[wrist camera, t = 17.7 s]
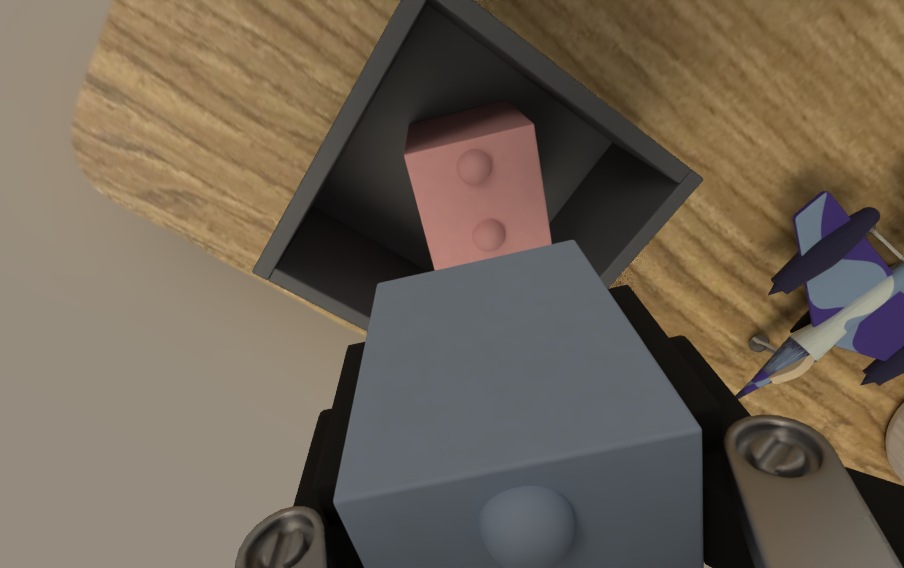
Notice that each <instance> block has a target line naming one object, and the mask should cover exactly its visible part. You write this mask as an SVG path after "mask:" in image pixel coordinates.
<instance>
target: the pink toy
mask: <svg viewBox="0 0 904 568" xmlns="http://www.w3.org/2000/svg"><path fill="white" fill-rule="evenodd" d="M404 158H405V162H406V166H407V169H408V173H409V177H410V180H411V184H412V188H413V192H414V195H415V199H416V203H417V206H418V210H419V214H420V218H421V221H422V225H423V229H424V232H425V236H426V240H427V244H428V247H429V251H430V255H431V259H432V262H433V266H434V270H440V269H444V268H449V267H453V266H458V265H462V264H467V263H471V262H475V261H480V260H484V259H489V258H493V257H498V256H502V255H507V254H511V253H516V252H520V251H524V250H529V249H533V248H538V247H542V246H547V245H551V244H552V241H551V234H550V227H549V221H548V214H547V207H546V201H545V194H544V187H543V180H542V174H541V167H540V160H539V154H538V147H537V140H536V134H535V127H534V124H533V123H532V122H531V121H530V120H529V119H528V118H527V117H526V116H524V115H523V114H522V113H521V112H520V111H519V110H518V109H517V108H516V107H515V106H513V105H512V104H511V103H510V102H509V101H508V100H506V101H502V102H498V103H494V104H490V105H486V106H482V107H478V108H474V109H469V110H465V111H461V112H457V113H453V114H449V115H445V116H441V117H437V118H433V119H429V120H424V121H420V122H416V123H412V124H409V125H408V132H407V139H406V146H405V153H404Z"/></svg>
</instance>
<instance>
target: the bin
mask: <svg viewBox="0 0 904 568" xmlns="http://www.w3.org/2000/svg"><path fill="white" fill-rule="evenodd" d="M506 100H508V101H509V102H510V103H511V104H512V105H513V106H515V107H516V108H517V109H518V110H519V111H520V112H521V113H522V114H523V115H524V116H526V117H527V118H528V119H529V120H530V121H531V122H532V123H533V124H534V127H535V134H536V140H537V147H538V154H539V160H540V167H541V174H542V180H543V187H544V194H545V201H546V207H547V214H548V221H549V227H550V234H551V241H552V244H556V243H560V242H565V241H569V240H575V242H576V243H577V245H578V246H579V248H580V249H581V251H582V252H583V254H584V255H585V257H586V258H587V260H588V261H589V263H590V264H591V266H592V267H593V269H594V270H595V272H596V273H597V275H598V276H599V277H600V279H601V280H602V282H603V283H604V285H605V286H606V288H607V289H608V288H609V287H610V286H611V285H612V284H613V282H614V281H615V280H616V279H617V278H618V277H619V276H620V274H621V273H622V272H623V271H624V270H625V269H626V268H627V267H628V265H629V264H630V263H631V262H632V261H633V260H634V259H635V257H636V256H637V255H638V254H639V253H640V252H641V251H642V249H643V248H644V247H645V246H646V245H647V244H648V243H649V241H650V240H651V239H652V238H653V237H654V236H655V235H656V233H657V232H658V231H659V230H660V229H661V228H662V227H663V225H664V224H665V223H666V222H667V221H668V220H669V219H670V218H671V216H672V215H673V214H674V213H675V212H676V211H677V210H678V208H679V207H680V206H681V205H682V204H683V203H684V202H685V200H686V199H687V198H688V197H689V196H690V195H691V194H692V192H693V191H694V190H695V189H696V188H697V187H698V186H699V184H700V183H701V182H702V181H703V178H702V177H701V176H699V175H698V174H697V173H696V172H694V171H693V170H691V169H690V168H689V167H688V166H687V165H685V164H684V163H683V162H681V161H680V160H679V159H678V158H676V157H675V156H674V155H672V154H671V153H670V152H668V151H667V150H666V149H665V148H663V147H662V146H661V145H659V144H658V143H657V142H656V141H654V140H653V139H652V138H650V137H649V136H648V135H647V134H645V133H644V132H643V131H641V130H640V129H639V128H638V127H636V126H635V125H634V124H632V123H631V122H630V121H628V120H627V119H626V118H625V117H623V116H622V115H621V114H619V113H618V112H617V111H616V110H614V109H613V108H612V107H610V106H609V105H608V104H607V103H605V102H604V101H603V100H601V99H600V98H599V97H597V96H596V95H595V94H594V93H592V92H591V91H590V90H588V89H587V88H586V87H585V86H583V85H582V84H581V83H579V82H578V81H577V80H576V79H574V78H573V77H572V76H570V75H569V74H568V73H567V72H565V71H564V70H563V69H561V68H560V67H559V66H557V65H556V64H555V63H554V62H552V61H551V60H550V59H548V58H547V57H546V56H545V55H543V54H542V53H541V52H539V51H538V50H537V49H536V48H534V47H533V46H532V45H530V44H529V43H528V42H527V41H525V40H524V39H523V38H521V37H520V36H519V35H517V34H516V33H515V32H514V31H512V30H511V29H510V28H508V27H507V26H506V25H505V24H503V23H502V22H501V21H499V20H498V19H497V18H496V17H494V16H493V15H492V14H490V13H489V12H488V11H486V10H485V9H484V8H483V7H481V6H480V5H479V4H477V3H476V2H475V1H474V0H401V1H400V3H399V5H398V6H397V8H396V10H395V12H394V14H393V15H392V17H391V19H390V21H389V23H388V25H387V26H386V28H385V30H384V32H383V34H382V36H381V37H380V39H379V41H378V43H377V45H376V46H375V48H374V50H373V52H372V54H371V56H370V57H369V59H368V61H367V63H366V65H365V67H364V68H363V70H362V72H361V74H360V76H359V77H358V79H357V81H356V83H355V85H354V87H353V88H352V90H351V92H350V94H349V96H348V98H347V99H346V101H345V103H344V105H343V107H342V108H341V110H340V112H339V114H338V116H337V118H336V119H335V121H334V123H333V125H332V127H331V129H330V130H329V132H328V134H327V136H326V138H325V139H324V141H323V143H322V145H321V147H320V149H319V150H318V152H317V154H316V156H315V158H314V160H313V161H312V163H311V165H310V167H309V169H308V170H307V172H306V174H305V176H304V178H303V180H302V181H301V183H300V185H299V187H298V189H297V190H296V192H295V194H294V196H293V198H292V200H291V201H290V203H289V205H288V207H287V209H286V211H285V212H284V214H283V216H282V218H281V220H280V221H279V223H278V225H277V227H276V229H275V231H274V232H273V234H272V236H271V238H270V240H269V242H268V243H267V245H266V247H265V249H264V251H263V252H262V254H261V256H260V258H259V260H258V262H257V263H256V265H255V267H254V269H253V271H252V272H253V273H254V274H256V275H258V276H260V277H262V278H264V279H266V280H268V279H269V281H270V282H272V283H274V284H276V285H278V286H280V287H282V288H284V289H286V290H288V291H290V292H292V293H294V294H295V295H297V296H299V297H301V298H303V299H305V300H307V301H309V302H311V303H313V304H315V305H317V306H319V307H321V308H323V309H325V310H327V311H329V312H330V313H332V314H334V315H336V316H338V317H340V318H342V319H344V320H346V321H348V322H350V323H352V324H354V325H356V326H358V327H360V328H362V329H364V330H366V331H367V332H368V327H369V322H370V317H371V313H372V308H373V303H374V298H375V293H376V288H377V284H379V283H382V282H386V281H391V280H395V279H400V278H404V277H409V276H413V275H418V274H422V273H426V272H431V271H435V270H434V266H433V262H432V259H431V255H430V251H429V247H428V244H427V240H426V236H425V232H424V229H423V225H422V221H421V218H420V214H419V210H418V206H417V203H416V199H415V195H414V192H413V188H412V184H411V180H410V177H409V173H408V169H407V166H406V162H405V158H404V153H405V146H406V139H407V132H408V125H409V124H412V123H416V122H420V121H424V120H429V119H433V118H437V117H441V116H445V115H449V114H453V113H457V112H461V111H465V110H469V109H474V108H478V107H482V106H486V105H490V104H494V103H498V102H502V101H506Z"/></svg>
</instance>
